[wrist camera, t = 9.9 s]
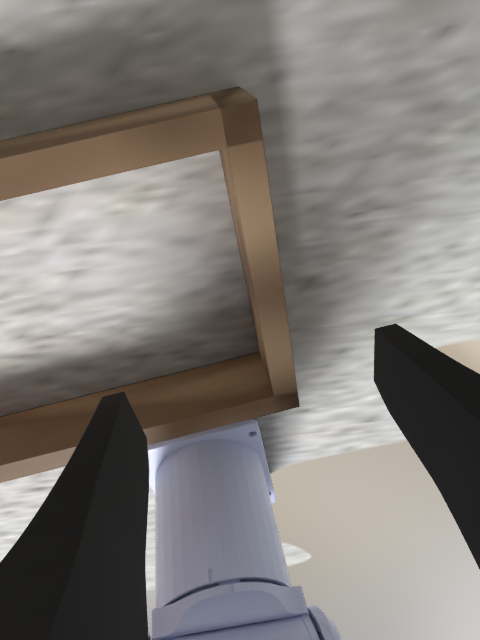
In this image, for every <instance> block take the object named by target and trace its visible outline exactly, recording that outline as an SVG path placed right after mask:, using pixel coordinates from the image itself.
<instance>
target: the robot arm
mask: <svg viewBox="0 0 480 640" xmlns="http://www.w3.org/2000/svg"><path fill="white" fill-rule="evenodd" d="M374 382H375V384H376V386H377V388H378V390H379V392H380V394H381V397H382V399H383V401H384V403H385V405H386V407H387V409H388V411H389V412H390V414H391V416H392V417H393V419H394V420H395V422H396V423H397V425H398V426H399V428H400V430H401V431H402V433H403V434H404V436H405V437H406V439H407V440H408V442H409V443H410V445H411V447H412V448H413V450H414V451H415V453H416V454H417V455H418V457H419V458H420V460H421V462H422V463H423V465H424V466H425V468H426V469H427V471H428V473H429V474H430V476H431V477H432V479H433V480H434V482H435V484H436V485H437V487H438V489H439V491H440V492H441V494H442V496H443V498H444V500H445V502H446V503H447V505H448V507H449V509H450V511H451V513H452V515H453V517H454V519H455V521H456V523H457V524H458V527H459V529H460V531H461V533H462V535H463V536H464V539H465V541H466V543H467V545H468V547H469V549H470V551H471V553H472V555H473V557H474V559H475V561H476V563H477V565H478V567H479V569H480V374H478V373H476V372H475V371H473V370H471V369H469V368H467V367H466V366H464V365H462V364H460V363H459V362H457V361H455V360H453V359H452V358H450V357H449V356H447V355H445V354H444V353H442V352H440V351H439V350H437V349H435V348H434V347H432V346H431V345H429V344H427V343H426V342H424V341H423V340H421V339H419V338H418V337H416V336H415V335H413V334H412V333H410V332H408V331H407V330H405V329H404V328H402V327H400V326H399V325H397V324H392V325H388V326H384V327H380V328H376V329H375V347H374ZM252 431H253V432H252ZM149 485H150V487H151V489H152V491H153V493H154V494H155V562H156V608H155V609H153V610H152V640H343V639H342V637H341V635H340V633H339V631H338V629H337V627H336V626H335V624H334V623H333V621H332V620H331V619H330V618H328V617H327V616H326V615H325V613H324V612H323V611H322V610H321V609H320V608H319V607H317V606H306V602H305V598H304V594H303V591H302V587H301V586H294V587H292V585H291V582H290V577H289V573H288V569H287V565H286V561H285V557H284V553H283V549H282V545H281V541H280V536H279V533H278V528H277V525H276V520H275V517H274V512H273V508H272V504H273V503H274V502H275V501H276V498H275V493H274V489H273V485H272V480H271V476H270V472H269V467H268V463H267V459H266V455H265V450H264V446H263V442H262V437H261V433H260V429H259V425H258V422H257V421H256V420H253V419H250V420H246V421H242V422H238V423H234V424H230V425H226V426H222V427H218V428H214V429H210V430H206V431H202V432H198V433H194V434H191V435H187V436H183V437H179V438H175V439H171V440H167V441H163V442H159V443H155V444H151V445H147V437H146V435H145V433H144V431H143V429H142V427H141V425H140V423H139V421H138V419H137V417H136V415H135V413H134V411H133V409H132V407H131V405H130V403H129V401H128V398H127V396H126V394H125V392H120V393H116V394H112V395H108V396H104V397H102V399H101V400H100V402H99V404H98V406H97V408H96V410H95V412H94V414H93V416H92V418H91V420H90V422H89V424H88V426H87V428H86V429H85V431H84V433H83V435H82V437H81V439H80V441H79V443H78V445H77V447H76V448H75V450H74V452H73V454H72V456H71V457H70V459H69V461H68V463H67V465H66V467H65V468H64V470H63V472H62V473H61V475H60V477H59V478H58V480H57V482H56V483H55V485H54V487H53V488H52V490H51V492H50V493H49V495H48V496H47V498H46V500H45V501H44V503H43V504H42V506H41V507H40V509H39V510H38V512H37V513H36V515H35V516H34V518H33V519H32V521H31V522H30V524H29V525H28V527H27V528H26V529H25V531H24V532H23V534H22V535H21V536H20V538H19V539H18V541H17V542H16V543H15V545H14V546H13V547H12V548H11V550H10V551H9V552H8V554H7V555H6V556H5V557H4V559H3V560H2V561H1V563H0V640H151V638H150V633H148V622H147V605H146V579H145V550H146V531H147V513H148V493H149Z"/></svg>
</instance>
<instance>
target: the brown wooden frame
mask: <svg viewBox="0 0 480 640" xmlns="http://www.w3.org/2000/svg"><path fill="white" fill-rule="evenodd" d="M216 150H219V151H220V156H221V161H222V166H223V171H224V176H225V181H226V186H227V191H228V196H229V201H230V206H231V211H232V216H233V221H234V226H235V231H236V236H237V241H238V246H239V251H240V256H241V261H242V266H243V271H244V276H245V281H246V286H247V291H248V296H249V301H250V306H251V311H252V316H253V321H254V326H255V331H256V337H257V342H258V347H259V353H255V354H251V355H247V356H243V357H239V358H235V359H231V360H227V361H223V362H219V363H215V364H211V365H207V366H203V367H199V368H195V369H191V370H187V371H183V372H179V373H175V374H171V375H167V376H163V377H159V378H155V379H151V380H147V381H143V382H139V383H135V384H131V385H127V386H123V387H119V388H115V389H110V390H106V391H102V392H98V393H94V394H90V395H86V396H82V397H78V398H74V399H70V400H66V401H62V402H58V403H54V404H50V405H46V406H42V407H38V408H34V409H30V410H26V411H22V412H18V413H14V414H10V415H6V416H2V417H0V483H1V482H5V481H9V480H13V479H17V478H21V477H25V476H29V475H33V474H37V473H41V472H45V471H49V470H53V469H56V468H60V467H64V466H66V465H67V463H68V461H69V459H70V457H71V456H72V454H73V452H74V450H75V448H76V447H77V445H78V443H79V441H80V439H81V437H82V435H83V433H84V431H85V429H86V428H87V426H88V424H89V422H90V420H91V418H92V416H93V414H94V412H95V410H96V408H97V406H98V404H99V402H100V400H101V399H102V397H104V396H108V395H112V394H116V393H120V392H125V394H126V396H127V398H128V401H129V403H130V405H131V407H132V409H133V411H134V413H135V415H136V417H137V419H138V421H139V423H140V425H141V427H142V429H143V431H144V433H145V435H146V437H147V445H151V444H155V443H159V442H163V441H166V440H170V439H174V438H178V437H182V436H186V435H190V434H194V433H198V432H202V431H206V430H210V429H214V428H217V427H221V426H225V425H229V424H233V423H237V422H241V421H245V420H249V419H253V418H257V417H261V416H265V415H269V414H272V413H276V412H280V411H284V410H288V409H292V408H296V407H299V399H298V392H297V385H296V378H295V370H294V363H293V356H292V349H291V342H290V334H289V327H288V320H287V313H286V305H285V298H284V291H283V284H282V276H281V269H280V262H279V255H278V247H277V240H276V233H275V226H274V218H273V211H272V204H271V197H270V189H269V182H268V175H267V168H266V160H265V153H264V146H263V139H262V131H261V124H260V117H259V110H258V102H257V99H255V98H254V97H253V96H251V95H250V94H248V93H247V92H246V91H244V90H243V89H241V88H240V87H235V88H231V89H227V90H222V91H218V92H214V93H209V94H205V95H200V96H196V97H192V98H187V99H183V100H179V101H174V102H170V103H165V104H161V105H157V106H152V107H148V108H144V109H139V110H135V111H130V112H126V113H122V114H117V115H113V116H109V117H104V118H100V119H95V120H91V121H87V122H82V123H78V124H74V125H69V126H65V127H60V128H56V129H52V130H47V131H43V132H39V133H34V134H30V135H25V136H21V137H17V138H12V139H8V140H4V141H0V201H2V200H6V199H10V198H15V197H19V196H23V195H28V194H32V193H36V192H40V191H45V190H49V189H53V188H58V187H62V186H66V185H70V184H75V183H79V182H83V181H88V180H92V179H96V178H101V177H105V176H109V175H113V174H118V173H122V172H126V171H131V170H135V169H139V168H143V167H148V166H152V165H156V164H161V163H165V162H169V161H173V160H178V159H182V158H186V157H191V156H195V155H199V154H203V153H208V152H212V151H216Z"/></svg>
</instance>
